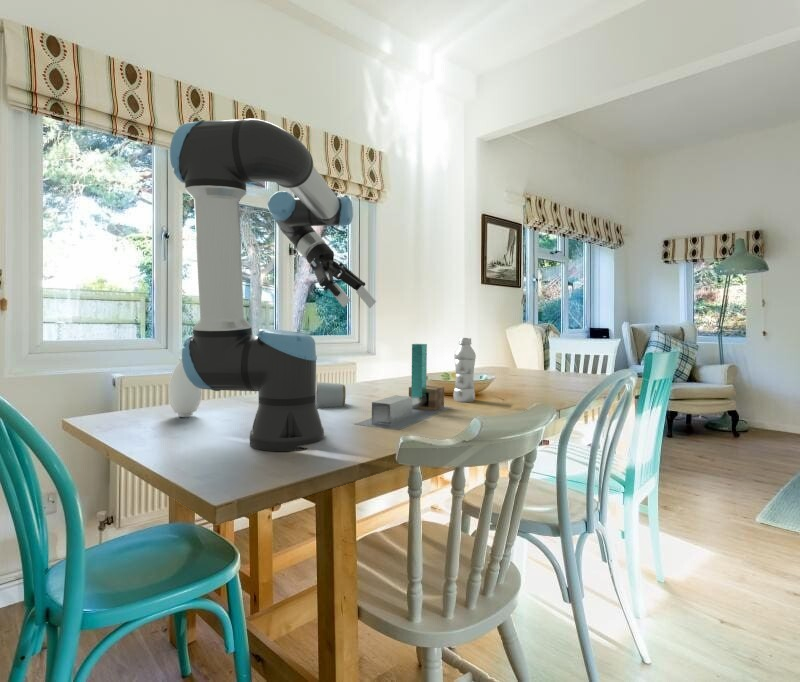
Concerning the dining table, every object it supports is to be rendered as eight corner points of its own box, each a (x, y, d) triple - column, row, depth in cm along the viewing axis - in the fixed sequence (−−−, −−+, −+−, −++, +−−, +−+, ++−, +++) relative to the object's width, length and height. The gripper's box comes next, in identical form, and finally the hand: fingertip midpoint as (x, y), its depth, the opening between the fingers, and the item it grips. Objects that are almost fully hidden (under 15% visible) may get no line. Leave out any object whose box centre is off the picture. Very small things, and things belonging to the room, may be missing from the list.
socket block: (435, 410, 138) (435, 389, 137) (408, 408, 141) (408, 387, 141) (444, 407, 143) (444, 386, 143) (418, 404, 147) (418, 384, 146)
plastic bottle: (463, 401, 160) (464, 337, 159) (479, 404, 154) (480, 338, 153) (448, 403, 156) (449, 337, 155) (464, 406, 150) (465, 338, 149)
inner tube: (405, 413, 127) (406, 346, 126) (394, 412, 128) (395, 345, 128) (432, 403, 142) (433, 343, 141) (422, 402, 144) (423, 342, 143)
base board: (399, 434, 114) (399, 429, 114) (354, 428, 120) (354, 424, 120) (451, 411, 143) (451, 407, 143) (413, 407, 148) (413, 403, 148)
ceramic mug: (346, 410, 142) (346, 383, 142) (316, 411, 140) (316, 383, 140) (342, 404, 152) (342, 379, 152) (314, 405, 151) (314, 379, 150)
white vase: (201, 413, 137) (200, 346, 136) (201, 418, 129) (200, 347, 128) (169, 414, 134) (168, 346, 133) (167, 420, 126) (166, 348, 125)
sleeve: (389, 426, 118) (389, 404, 118) (371, 424, 120) (371, 402, 120) (412, 417, 128) (412, 396, 128) (395, 415, 131) (395, 395, 130)
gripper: (333, 265, 160) (374, 313, 153) (280, 257, 137) (326, 313, 131) (347, 247, 157) (390, 296, 151) (296, 236, 135) (343, 292, 129)
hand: (360, 304), depth 141 cm, fingers open, 13 cm apart
